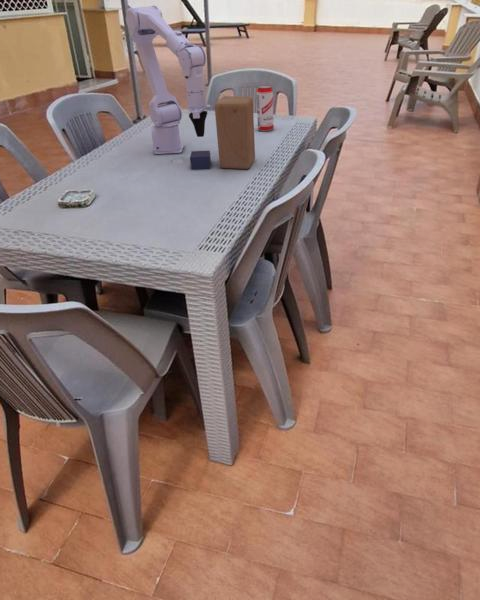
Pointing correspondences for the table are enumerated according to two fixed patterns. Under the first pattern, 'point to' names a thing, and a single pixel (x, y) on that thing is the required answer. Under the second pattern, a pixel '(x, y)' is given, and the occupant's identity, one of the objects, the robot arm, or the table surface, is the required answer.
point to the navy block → (200, 160)
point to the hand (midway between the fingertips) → (200, 136)
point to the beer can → (265, 108)
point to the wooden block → (235, 132)
